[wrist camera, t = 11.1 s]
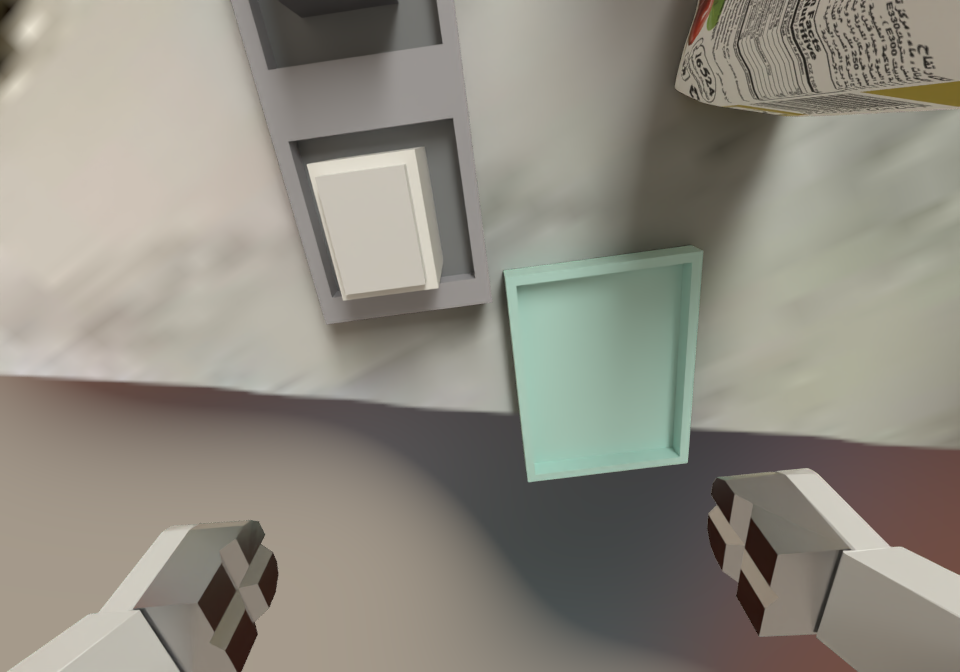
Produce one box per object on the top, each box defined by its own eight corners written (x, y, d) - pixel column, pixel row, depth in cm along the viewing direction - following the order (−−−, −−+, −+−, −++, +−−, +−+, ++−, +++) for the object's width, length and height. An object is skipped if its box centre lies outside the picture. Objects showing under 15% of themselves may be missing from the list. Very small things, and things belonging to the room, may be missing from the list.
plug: (424, 146, 23) (412, 149, 18) (443, 260, 25) (437, 293, 20) (338, 158, 23) (300, 165, 18) (364, 270, 26) (338, 306, 20)
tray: (691, 245, 28) (703, 250, 26) (678, 449, 34) (687, 462, 33) (503, 270, 28) (505, 277, 26) (525, 468, 34) (528, 482, 33)
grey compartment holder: (418, -274, 18) (388, -531, 11) (489, 284, 28) (497, 335, 21) (192, -236, 19) (23, -464, 12) (340, 304, 28) (298, 361, 21)
